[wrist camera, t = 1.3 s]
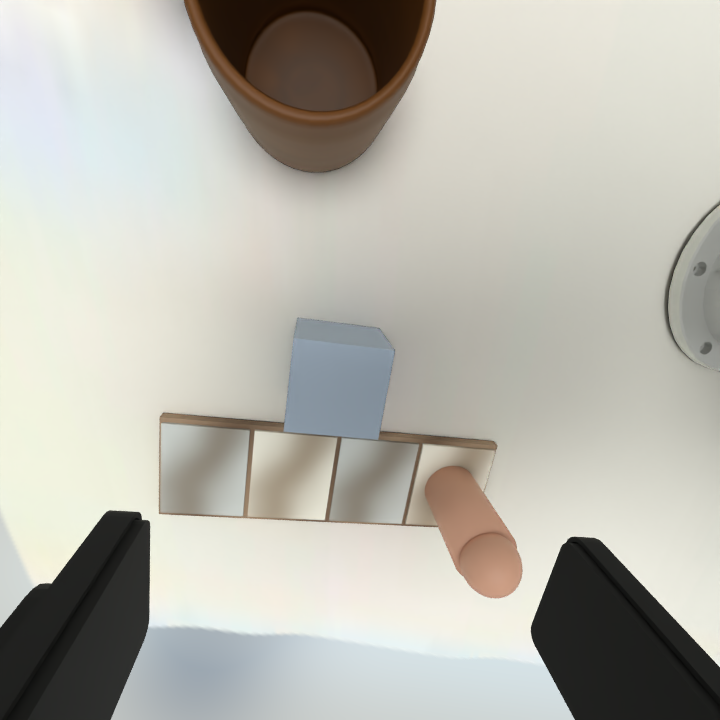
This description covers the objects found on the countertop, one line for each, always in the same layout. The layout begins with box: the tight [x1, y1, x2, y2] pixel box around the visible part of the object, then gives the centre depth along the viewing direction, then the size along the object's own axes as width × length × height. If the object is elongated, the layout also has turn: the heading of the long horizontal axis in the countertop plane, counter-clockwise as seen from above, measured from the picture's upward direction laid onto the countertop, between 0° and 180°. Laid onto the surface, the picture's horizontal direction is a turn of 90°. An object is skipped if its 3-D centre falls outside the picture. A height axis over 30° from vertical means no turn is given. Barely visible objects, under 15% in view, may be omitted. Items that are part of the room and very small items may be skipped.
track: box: [159, 413, 497, 527], centre depth 26 cm, size 22×7×1 cm, turn 81°
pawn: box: [425, 466, 522, 598], centre depth 23 cm, size 4×4×8 cm
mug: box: [184, 0, 436, 172], centre depth 15 cm, size 12×8×9 cm, turn 58°
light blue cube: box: [283, 318, 395, 440], centre depth 22 cm, size 5×5×5 cm
